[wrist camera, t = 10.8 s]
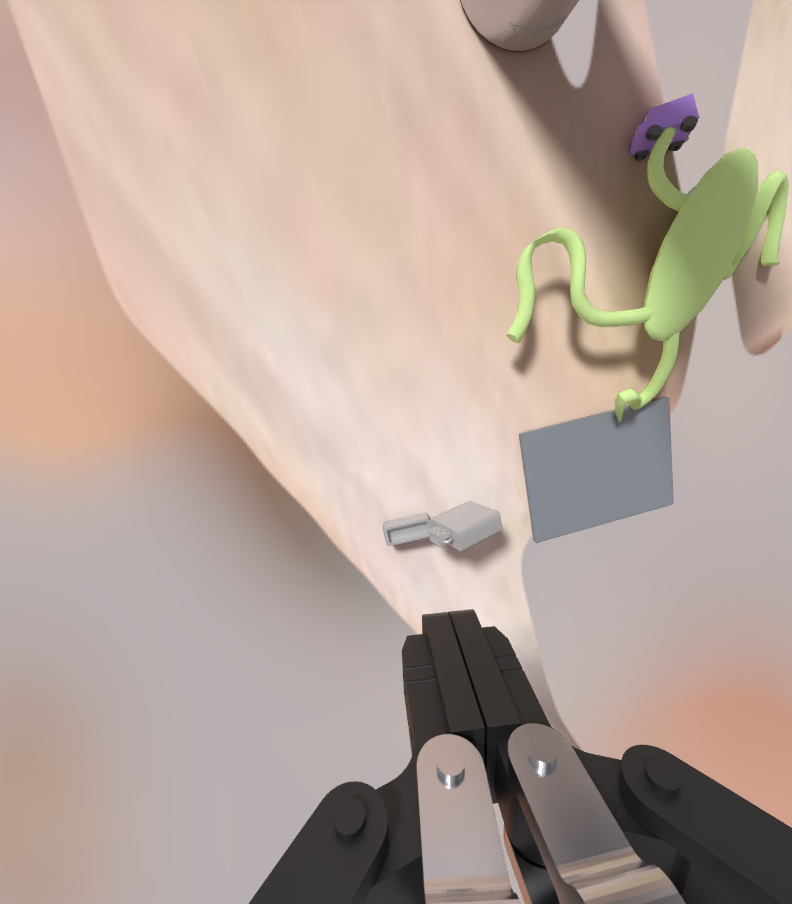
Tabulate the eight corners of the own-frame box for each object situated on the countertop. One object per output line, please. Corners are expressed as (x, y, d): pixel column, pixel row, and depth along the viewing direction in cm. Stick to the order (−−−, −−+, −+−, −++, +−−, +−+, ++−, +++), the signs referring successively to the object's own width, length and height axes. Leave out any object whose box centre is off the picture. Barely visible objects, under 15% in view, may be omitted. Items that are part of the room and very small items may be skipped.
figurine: (461, 306, 34) (485, 296, 29) (683, 57, 33) (753, -4, 27) (591, 445, 39) (633, 459, 34) (789, 233, 37) (867, 212, 32)
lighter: (499, 511, 33) (417, 552, 29) (502, 530, 33) (422, 572, 30) (449, 493, 39) (377, 524, 36) (452, 509, 39) (381, 542, 36)
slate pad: (518, 433, 37) (521, 434, 36) (664, 397, 38) (669, 397, 38) (533, 540, 40) (536, 543, 39) (669, 502, 41) (673, 504, 41)
